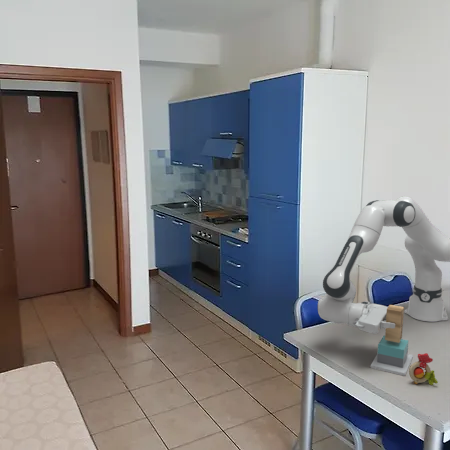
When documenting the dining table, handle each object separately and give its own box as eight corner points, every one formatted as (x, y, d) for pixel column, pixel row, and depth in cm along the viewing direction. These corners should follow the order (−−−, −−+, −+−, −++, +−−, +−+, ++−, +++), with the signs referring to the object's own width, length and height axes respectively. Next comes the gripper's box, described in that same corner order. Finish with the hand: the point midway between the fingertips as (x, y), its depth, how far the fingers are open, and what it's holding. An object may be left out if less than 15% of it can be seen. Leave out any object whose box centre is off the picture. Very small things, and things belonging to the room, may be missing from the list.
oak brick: (388, 334, 175) (389, 304, 173) (401, 337, 173) (403, 307, 171) (385, 339, 171) (386, 309, 169) (399, 342, 169) (401, 311, 166)
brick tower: (380, 350, 184) (381, 331, 182) (413, 357, 178) (414, 337, 176) (370, 367, 170) (371, 347, 169) (405, 375, 164) (406, 354, 163)
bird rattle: (420, 394, 156) (444, 382, 157) (409, 366, 154) (434, 355, 154) (411, 384, 163) (434, 373, 163) (400, 358, 160) (424, 347, 160)
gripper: (351, 316, 168) (391, 324, 161) (366, 299, 185) (402, 305, 178) (351, 333, 169) (390, 341, 162) (365, 314, 186) (402, 321, 179)
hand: (397, 322), depth 170 cm, fingers closed on oak brick, 5 cm apart
